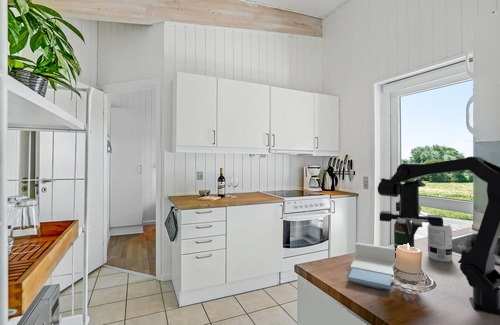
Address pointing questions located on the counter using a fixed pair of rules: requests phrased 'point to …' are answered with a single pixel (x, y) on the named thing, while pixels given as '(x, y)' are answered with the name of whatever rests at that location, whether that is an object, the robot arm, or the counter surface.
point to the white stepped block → (374, 259)
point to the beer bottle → (401, 234)
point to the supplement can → (440, 242)
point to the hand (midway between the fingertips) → (409, 242)
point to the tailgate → (370, 278)
